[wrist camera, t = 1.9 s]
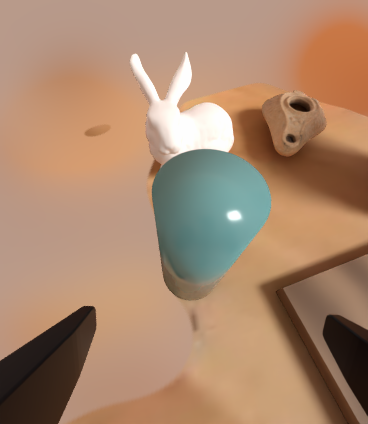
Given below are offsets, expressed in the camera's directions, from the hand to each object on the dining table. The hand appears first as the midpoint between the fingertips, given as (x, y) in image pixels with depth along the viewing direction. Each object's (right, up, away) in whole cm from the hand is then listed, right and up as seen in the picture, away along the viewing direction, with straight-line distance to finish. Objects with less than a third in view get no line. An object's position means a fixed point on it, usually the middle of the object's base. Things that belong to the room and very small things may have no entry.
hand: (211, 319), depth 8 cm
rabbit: (-1, +10, +20) cm, 23 cm away
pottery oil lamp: (+14, +15, +24) cm, 32 cm away
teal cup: (0, -2, +13) cm, 13 cm away
